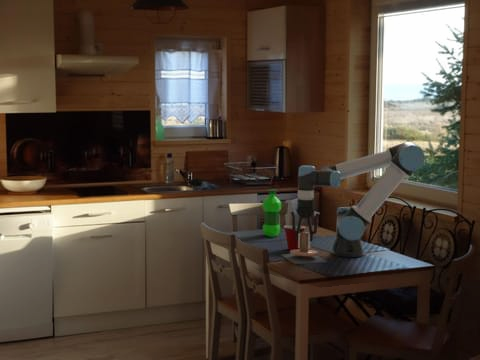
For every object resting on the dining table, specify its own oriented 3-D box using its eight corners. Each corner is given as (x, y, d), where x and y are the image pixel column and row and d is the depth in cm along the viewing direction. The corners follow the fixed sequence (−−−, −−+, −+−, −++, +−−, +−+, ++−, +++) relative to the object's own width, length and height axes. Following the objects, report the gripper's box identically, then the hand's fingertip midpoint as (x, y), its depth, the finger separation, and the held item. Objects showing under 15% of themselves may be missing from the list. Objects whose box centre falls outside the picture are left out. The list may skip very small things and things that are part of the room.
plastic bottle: (258, 234, 420) (260, 188, 416) (277, 233, 423) (278, 188, 420) (265, 238, 410) (266, 191, 407) (283, 237, 413) (285, 191, 410)
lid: (323, 254, 366) (324, 233, 365) (306, 257, 356) (307, 235, 356) (301, 251, 375) (302, 230, 374) (284, 253, 365) (285, 231, 365)
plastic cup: (304, 247, 390) (305, 224, 389) (304, 252, 380) (305, 228, 378) (283, 246, 391) (284, 223, 390) (282, 251, 381) (283, 227, 379)
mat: (327, 262, 360) (327, 261, 360) (295, 264, 355) (295, 263, 355) (311, 253, 377) (311, 252, 377) (281, 255, 372) (281, 254, 372)
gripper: (324, 198, 364) (323, 247, 367) (289, 196, 367) (287, 244, 371) (322, 200, 356) (321, 250, 360) (286, 198, 360) (285, 248, 363)
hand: (304, 247), depth 365 cm, fingers closed on lid, 4 cm apart
